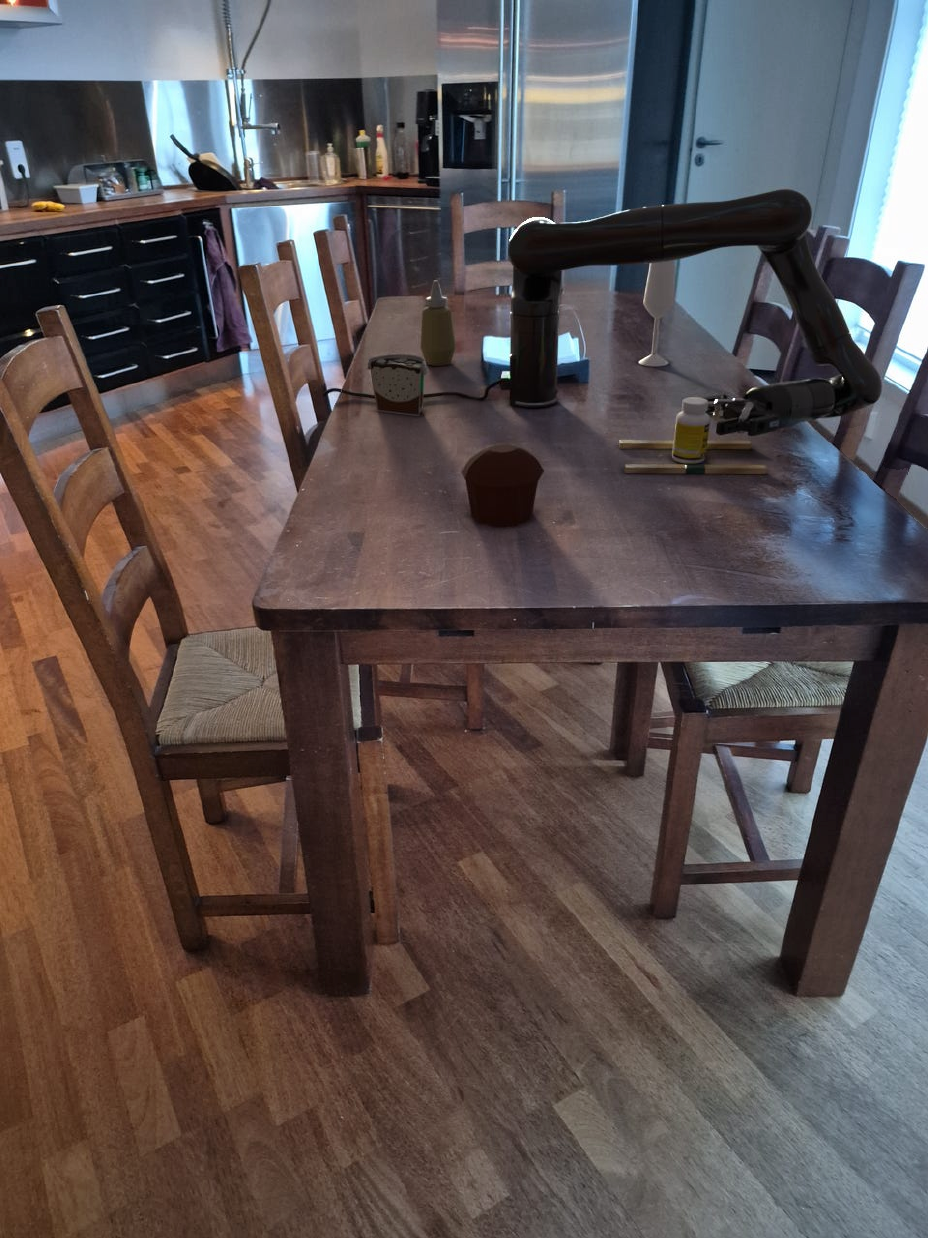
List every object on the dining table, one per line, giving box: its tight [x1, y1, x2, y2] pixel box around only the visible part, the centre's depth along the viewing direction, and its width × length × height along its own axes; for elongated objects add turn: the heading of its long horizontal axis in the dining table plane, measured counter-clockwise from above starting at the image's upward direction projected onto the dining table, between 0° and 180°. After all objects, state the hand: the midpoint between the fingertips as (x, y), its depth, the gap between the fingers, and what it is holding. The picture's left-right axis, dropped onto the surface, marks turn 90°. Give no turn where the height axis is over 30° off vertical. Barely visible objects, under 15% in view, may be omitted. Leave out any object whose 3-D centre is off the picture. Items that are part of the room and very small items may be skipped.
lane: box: [618, 439, 768, 475], centre depth 143 cm, size 22×13×1 cm, turn 86°
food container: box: [366, 353, 429, 417], centre depth 167 cm, size 12×6×10 cm, turn 65°
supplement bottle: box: [671, 396, 711, 465], centre depth 140 cm, size 5×5×10 cm
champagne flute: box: [638, 260, 676, 367], centre depth 190 cm, size 7×7×24 cm
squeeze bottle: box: [420, 279, 457, 367], centre depth 195 cm, size 8×8×18 cm
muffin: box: [460, 443, 545, 528], centre depth 123 cm, size 12×11×10 cm
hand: (700, 421), depth 140 cm, fingers open, 8 cm apart
